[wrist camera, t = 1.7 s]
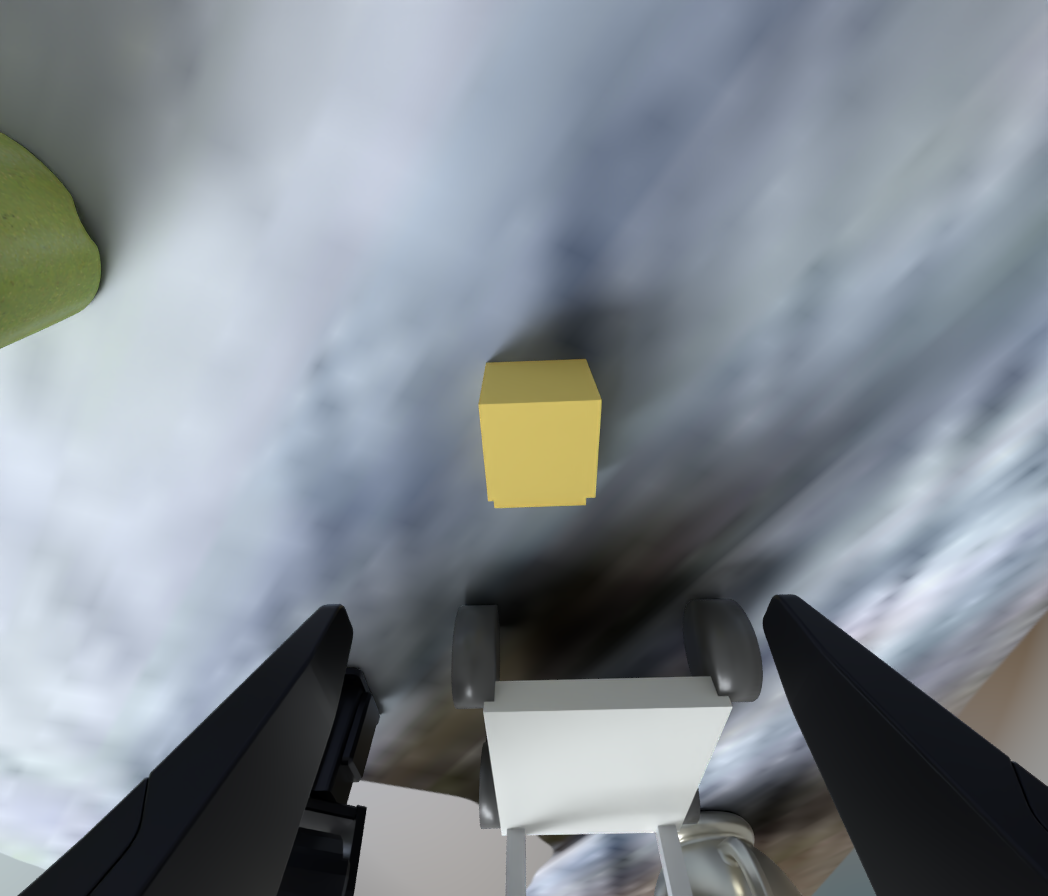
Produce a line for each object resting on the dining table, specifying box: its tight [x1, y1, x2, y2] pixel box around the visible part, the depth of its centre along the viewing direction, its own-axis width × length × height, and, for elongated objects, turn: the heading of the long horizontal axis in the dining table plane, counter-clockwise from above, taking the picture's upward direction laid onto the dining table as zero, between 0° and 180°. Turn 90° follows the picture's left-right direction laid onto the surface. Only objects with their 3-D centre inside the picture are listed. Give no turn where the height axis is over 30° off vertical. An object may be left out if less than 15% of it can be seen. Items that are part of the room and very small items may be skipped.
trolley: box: [452, 599, 763, 896], centre depth 23 cm, size 21×15×14 cm
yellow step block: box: [479, 359, 602, 508], centre depth 17 cm, size 4×6×4 cm, turn 2°
